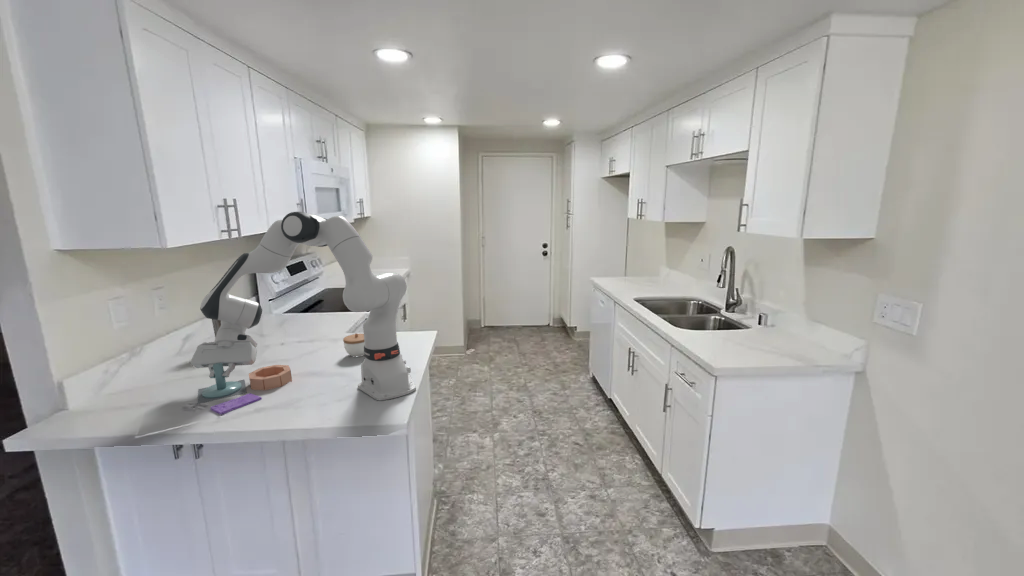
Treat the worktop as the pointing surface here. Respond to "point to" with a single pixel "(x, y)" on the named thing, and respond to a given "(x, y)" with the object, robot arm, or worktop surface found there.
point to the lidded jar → (354, 344)
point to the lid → (221, 385)
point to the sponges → (235, 403)
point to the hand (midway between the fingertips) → (218, 377)
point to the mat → (203, 400)
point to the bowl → (270, 377)
